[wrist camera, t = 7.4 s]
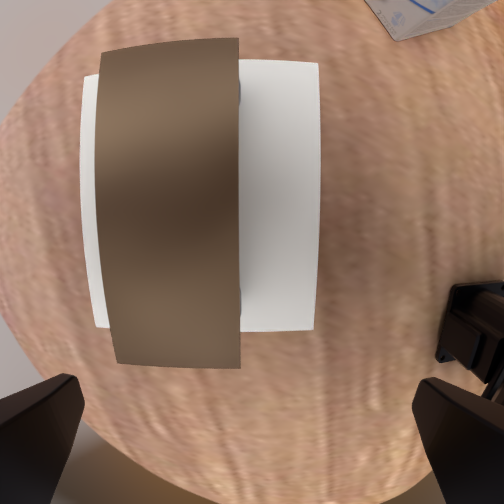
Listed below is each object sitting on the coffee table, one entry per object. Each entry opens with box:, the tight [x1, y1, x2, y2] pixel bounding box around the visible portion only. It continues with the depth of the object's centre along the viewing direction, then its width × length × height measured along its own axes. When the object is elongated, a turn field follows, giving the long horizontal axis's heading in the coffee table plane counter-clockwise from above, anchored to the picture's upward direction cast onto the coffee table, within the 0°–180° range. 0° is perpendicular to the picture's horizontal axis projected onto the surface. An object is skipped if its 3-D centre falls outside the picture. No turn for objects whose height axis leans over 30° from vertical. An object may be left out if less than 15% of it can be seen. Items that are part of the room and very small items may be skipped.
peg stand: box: [80, 59, 321, 332], centre depth 16 cm, size 14×16×3 cm
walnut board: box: [94, 38, 241, 369], centre depth 12 cm, size 12×5×4 cm, turn 0°
